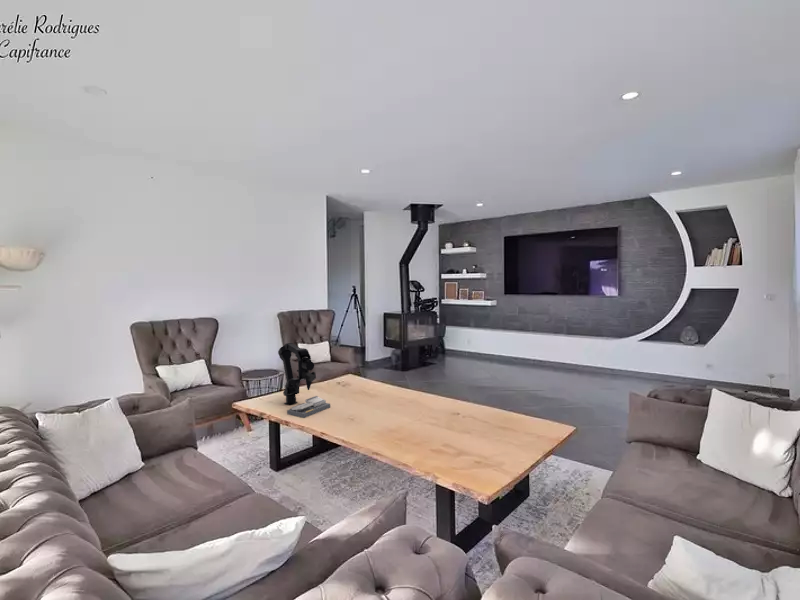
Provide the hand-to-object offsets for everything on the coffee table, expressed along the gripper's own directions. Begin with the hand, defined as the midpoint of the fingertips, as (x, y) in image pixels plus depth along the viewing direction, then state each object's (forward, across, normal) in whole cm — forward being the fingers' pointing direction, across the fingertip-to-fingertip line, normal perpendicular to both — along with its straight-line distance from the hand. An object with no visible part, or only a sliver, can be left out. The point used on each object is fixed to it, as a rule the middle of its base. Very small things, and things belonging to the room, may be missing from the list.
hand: (303, 391), depth 267 cm
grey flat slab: (+7, -6, -5) cm, 11 cm away
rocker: (+7, +6, -5) cm, 10 cm away
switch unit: (+12, 0, -5) cm, 13 cm away
